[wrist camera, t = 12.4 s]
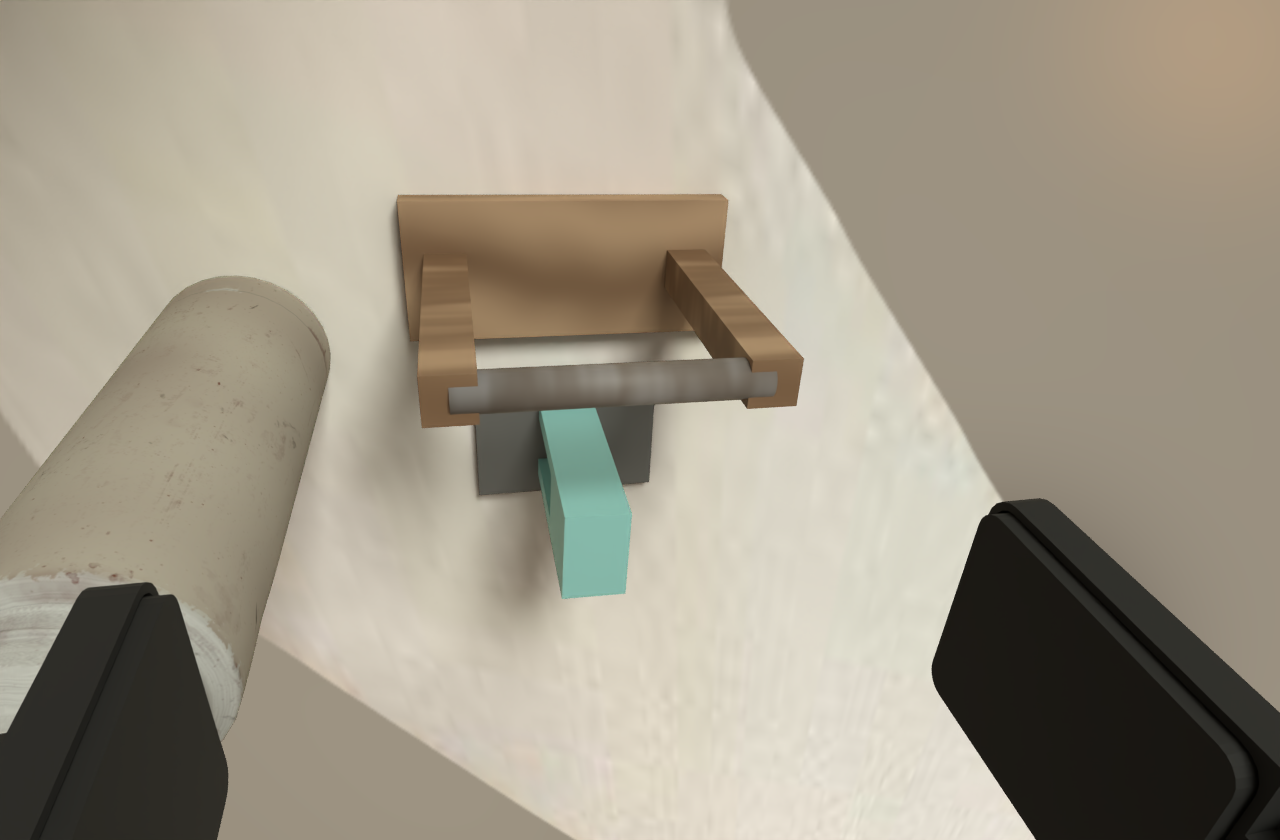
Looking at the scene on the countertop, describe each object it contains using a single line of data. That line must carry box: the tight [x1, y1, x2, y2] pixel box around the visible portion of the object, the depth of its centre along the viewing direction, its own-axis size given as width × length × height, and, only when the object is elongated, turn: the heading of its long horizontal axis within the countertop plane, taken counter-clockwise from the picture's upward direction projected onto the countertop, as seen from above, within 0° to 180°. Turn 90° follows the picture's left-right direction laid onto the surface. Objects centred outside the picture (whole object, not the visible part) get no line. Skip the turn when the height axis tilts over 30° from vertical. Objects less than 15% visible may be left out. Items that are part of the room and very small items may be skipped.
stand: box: [397, 194, 804, 428], centre depth 36 cm, size 7×16×15 cm, turn 88°
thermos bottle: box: [0, 276, 330, 741], centre depth 29 cm, size 8×8×28 cm
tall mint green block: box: [538, 408, 632, 599], centre depth 42 cm, size 5×3×11 cm, turn 176°
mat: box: [476, 405, 654, 495], centre depth 47 cm, size 7×10×1 cm
